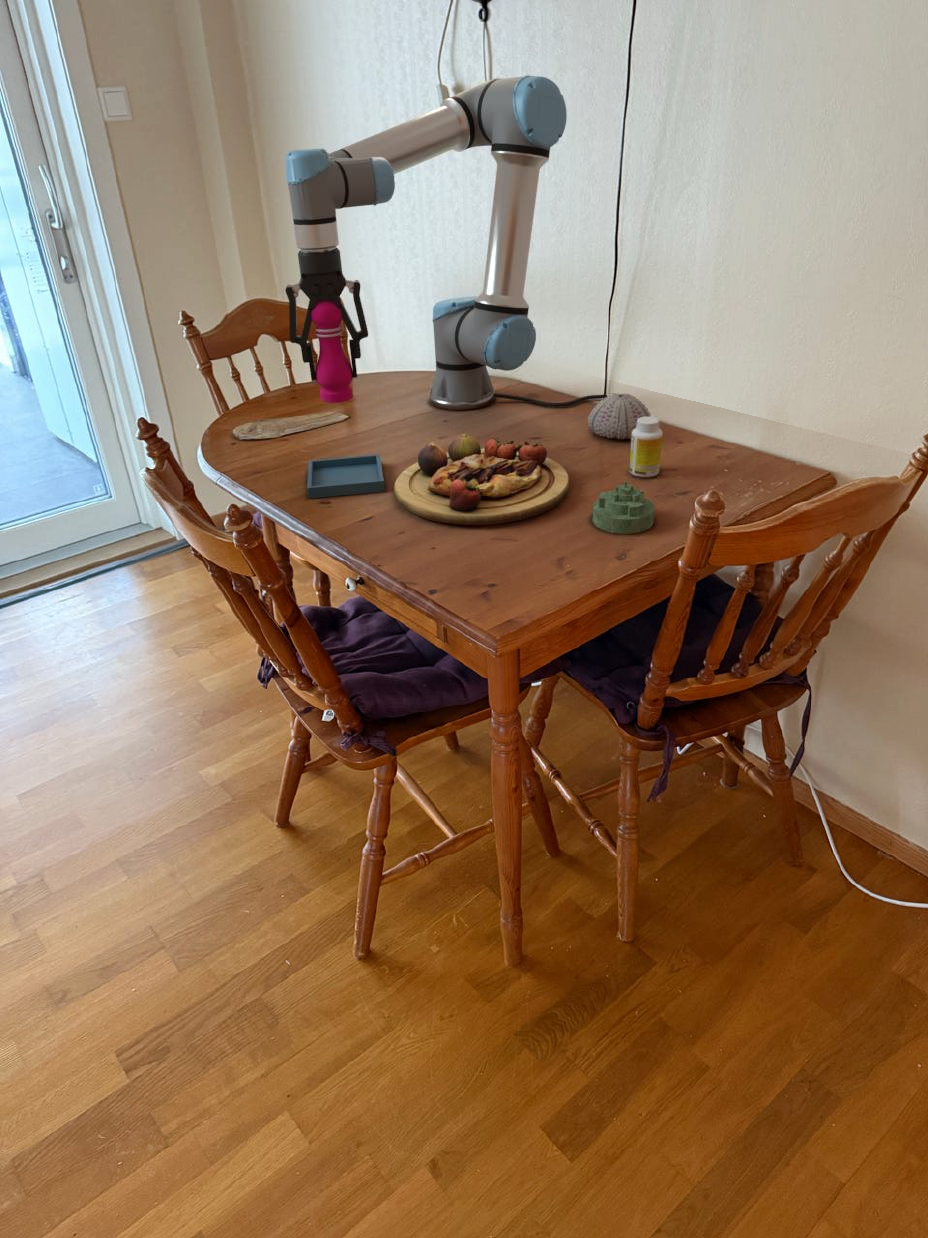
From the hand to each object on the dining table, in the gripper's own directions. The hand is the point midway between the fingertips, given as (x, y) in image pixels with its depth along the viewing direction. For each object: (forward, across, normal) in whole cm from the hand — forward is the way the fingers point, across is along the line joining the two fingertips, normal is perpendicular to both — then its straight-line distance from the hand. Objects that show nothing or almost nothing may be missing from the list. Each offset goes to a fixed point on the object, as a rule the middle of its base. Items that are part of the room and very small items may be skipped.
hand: (334, 377), depth 161 cm
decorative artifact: (+17, -46, +40) cm, 63 cm away
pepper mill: (+4, 0, 0) cm, 4 cm away
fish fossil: (+17, +12, -23) cm, 31 cm away
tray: (+16, 0, +12) cm, 20 cm away
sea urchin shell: (+17, -58, -1) cm, 60 cm away
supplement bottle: (+17, -56, +21) cm, 62 cm away
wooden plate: (+17, -25, +23) cm, 38 cm away
